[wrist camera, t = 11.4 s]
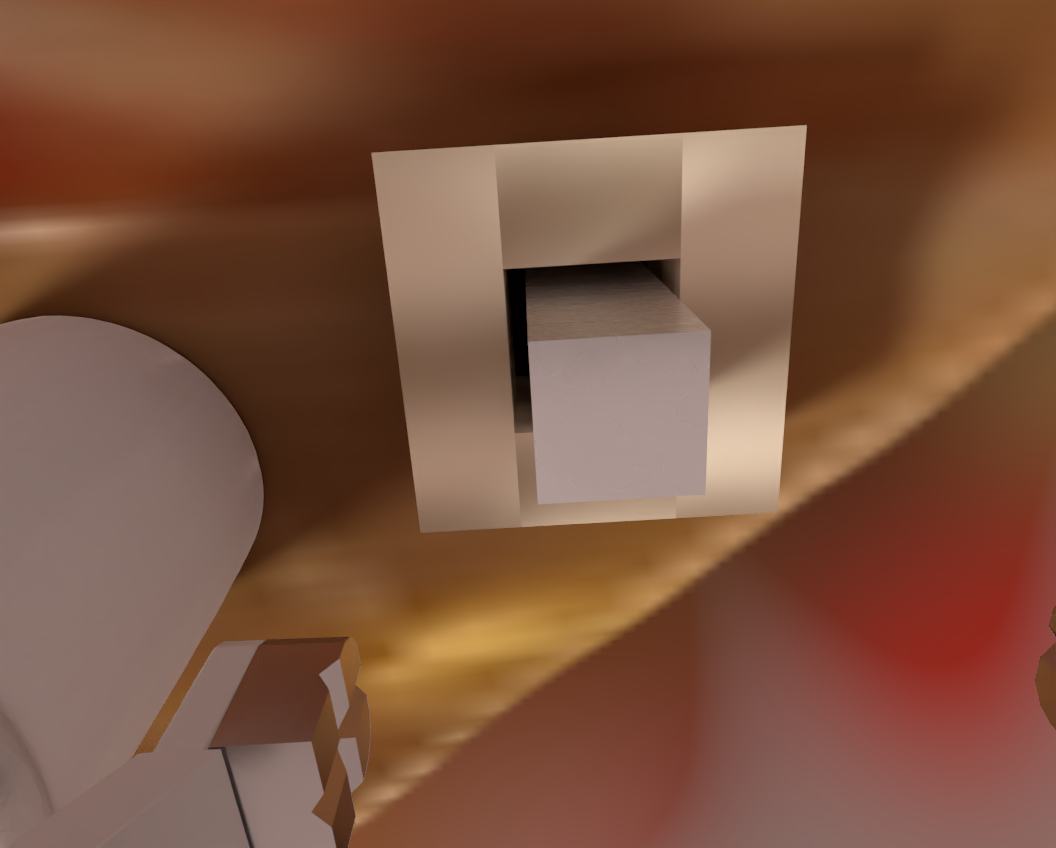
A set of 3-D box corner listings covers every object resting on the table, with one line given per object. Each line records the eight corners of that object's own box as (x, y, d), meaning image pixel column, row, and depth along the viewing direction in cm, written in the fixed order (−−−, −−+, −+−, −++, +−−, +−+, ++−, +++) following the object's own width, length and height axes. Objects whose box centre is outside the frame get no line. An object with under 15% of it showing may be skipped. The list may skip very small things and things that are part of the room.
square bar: (524, 259, 27) (528, 342, 16) (631, 252, 27) (711, 330, 16) (530, 361, 28) (538, 504, 17) (632, 355, 28) (705, 494, 17)
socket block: (403, 150, 25) (371, 152, 20) (743, 129, 25) (806, 125, 20) (438, 459, 30) (420, 532, 24) (729, 442, 30) (777, 512, 24)
